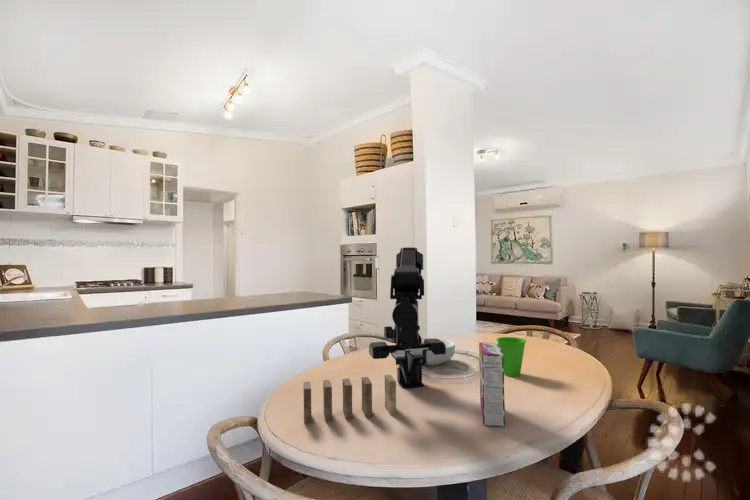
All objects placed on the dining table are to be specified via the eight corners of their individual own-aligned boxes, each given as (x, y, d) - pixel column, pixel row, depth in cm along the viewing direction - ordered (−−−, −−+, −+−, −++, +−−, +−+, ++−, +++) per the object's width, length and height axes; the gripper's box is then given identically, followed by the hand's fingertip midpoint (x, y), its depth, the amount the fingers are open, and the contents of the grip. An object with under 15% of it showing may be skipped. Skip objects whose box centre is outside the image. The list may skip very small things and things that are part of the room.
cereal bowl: (459, 369, 128) (459, 348, 128) (409, 369, 128) (409, 348, 128) (450, 355, 145) (450, 337, 145) (406, 355, 145) (406, 337, 145)
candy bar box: (479, 406, 97) (478, 341, 97) (499, 407, 96) (498, 342, 96) (482, 426, 86) (481, 353, 86) (505, 428, 85) (504, 354, 85)
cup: (495, 377, 120) (495, 341, 120) (497, 368, 128) (497, 335, 128) (526, 380, 116) (526, 344, 116) (526, 371, 125) (526, 337, 125)
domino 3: (349, 410, 96) (349, 378, 96) (352, 418, 91) (352, 385, 91) (342, 411, 95) (342, 378, 95) (345, 419, 90) (345, 385, 91)
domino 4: (368, 408, 97) (367, 376, 97) (372, 416, 92) (371, 383, 92) (361, 409, 96) (361, 377, 96) (365, 417, 92) (365, 383, 92)
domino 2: (330, 412, 95) (329, 379, 95) (332, 420, 90) (331, 386, 90) (323, 412, 94) (323, 380, 94) (325, 421, 89) (324, 387, 90)
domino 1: (310, 414, 94) (310, 381, 94) (311, 423, 89) (311, 388, 89) (303, 414, 93) (303, 381, 93) (304, 423, 88) (304, 389, 89)
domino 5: (390, 405, 98) (390, 374, 98) (396, 413, 93) (395, 380, 93) (384, 406, 98) (384, 375, 98) (389, 414, 93) (389, 381, 93)
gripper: (430, 313, 106) (431, 370, 106) (364, 316, 102) (365, 375, 102) (446, 320, 95) (447, 383, 95) (373, 324, 91) (373, 390, 91)
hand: (407, 382), depth 96 cm, fingers closed
